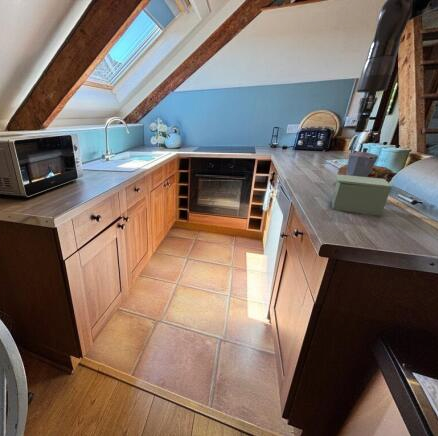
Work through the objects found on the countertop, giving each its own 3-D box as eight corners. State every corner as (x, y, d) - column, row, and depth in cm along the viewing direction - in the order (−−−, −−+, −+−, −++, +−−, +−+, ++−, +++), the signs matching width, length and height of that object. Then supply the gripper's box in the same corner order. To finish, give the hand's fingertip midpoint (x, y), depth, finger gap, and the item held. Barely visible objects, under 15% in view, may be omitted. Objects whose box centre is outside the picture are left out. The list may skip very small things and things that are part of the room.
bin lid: (337, 182, 87) (338, 180, 87) (335, 176, 96) (336, 174, 96) (391, 188, 80) (392, 186, 80) (383, 181, 89) (384, 178, 89)
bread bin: (332, 209, 91) (340, 183, 87) (331, 200, 100) (338, 177, 96) (380, 216, 84) (391, 188, 80) (374, 206, 93) (383, 181, 89)
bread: (342, 186, 119) (348, 166, 115) (334, 181, 128) (339, 162, 124) (389, 188, 114) (397, 167, 110) (377, 183, 123) (384, 163, 119)
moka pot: (347, 199, 101) (362, 149, 93) (328, 189, 115) (340, 145, 107) (373, 200, 99) (390, 150, 92) (350, 189, 114) (364, 145, 106)
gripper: (396, 70, 71) (376, 133, 77) (387, 76, 81) (369, 131, 87) (363, 73, 74) (346, 133, 81) (358, 78, 85) (343, 131, 91)
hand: (358, 132), depth 84 cm, fingers closed
